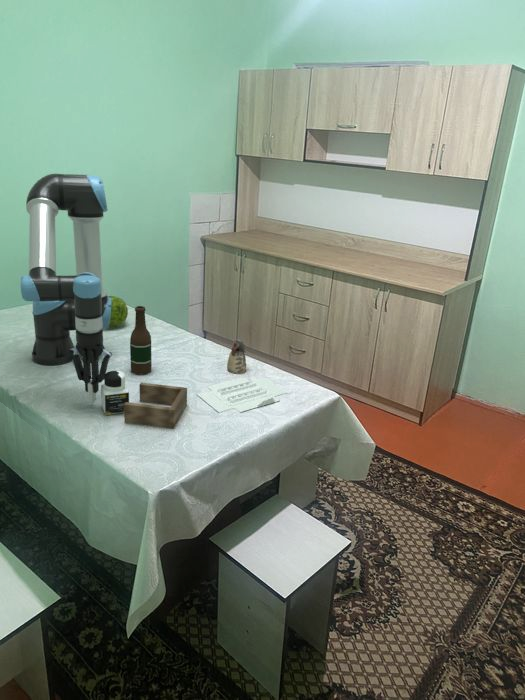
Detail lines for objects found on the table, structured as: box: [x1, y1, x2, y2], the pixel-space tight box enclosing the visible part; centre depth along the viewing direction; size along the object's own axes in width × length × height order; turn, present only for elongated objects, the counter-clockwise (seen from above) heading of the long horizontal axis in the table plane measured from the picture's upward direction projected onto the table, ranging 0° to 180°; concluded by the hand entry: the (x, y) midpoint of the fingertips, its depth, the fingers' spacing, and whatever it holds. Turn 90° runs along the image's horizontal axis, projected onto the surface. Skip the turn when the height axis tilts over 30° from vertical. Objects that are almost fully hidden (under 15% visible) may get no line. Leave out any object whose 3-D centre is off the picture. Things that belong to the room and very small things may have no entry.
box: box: [123, 382, 188, 429], centre depth 163 cm, size 15×15×6 cm
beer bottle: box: [129, 305, 153, 376], centre depth 186 cm, size 8×8×24 cm
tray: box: [196, 377, 288, 414], centre depth 179 cm, size 20×28×4 cm
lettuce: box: [107, 295, 129, 328], centre depth 232 cm, size 14×23×13 cm, turn 34°
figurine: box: [226, 339, 247, 375], centre depth 195 cm, size 7×7×12 cm
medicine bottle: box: [100, 370, 130, 416], centre depth 162 cm, size 7×7×12 cm
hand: (92, 401), depth 164 cm, fingers closed
